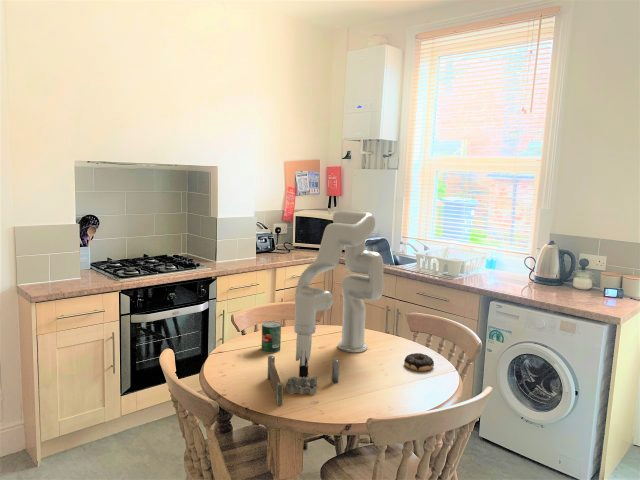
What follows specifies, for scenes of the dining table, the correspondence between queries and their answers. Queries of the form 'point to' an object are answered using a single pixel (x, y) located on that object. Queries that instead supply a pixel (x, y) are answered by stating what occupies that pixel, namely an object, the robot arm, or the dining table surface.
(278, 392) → the gate
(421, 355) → the donut
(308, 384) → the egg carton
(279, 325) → the canned tomato
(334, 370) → the gate posts
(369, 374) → the dining table surface
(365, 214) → the robot arm
